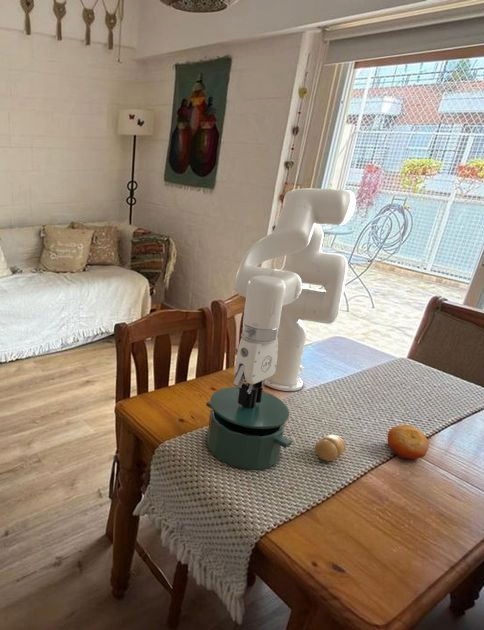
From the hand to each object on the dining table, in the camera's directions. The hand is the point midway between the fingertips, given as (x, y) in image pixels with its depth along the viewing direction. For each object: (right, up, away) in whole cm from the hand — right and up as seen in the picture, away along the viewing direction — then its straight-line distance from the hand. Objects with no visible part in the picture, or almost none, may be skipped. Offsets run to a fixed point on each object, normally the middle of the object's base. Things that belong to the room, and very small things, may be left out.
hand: (249, 402), depth 104 cm
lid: (0, -1, 0) cm, 1 cm away
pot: (0, -12, +4) cm, 12 cm away
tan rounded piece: (+19, -13, +1) cm, 23 cm away
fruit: (+38, -13, +2) cm, 40 cm away
